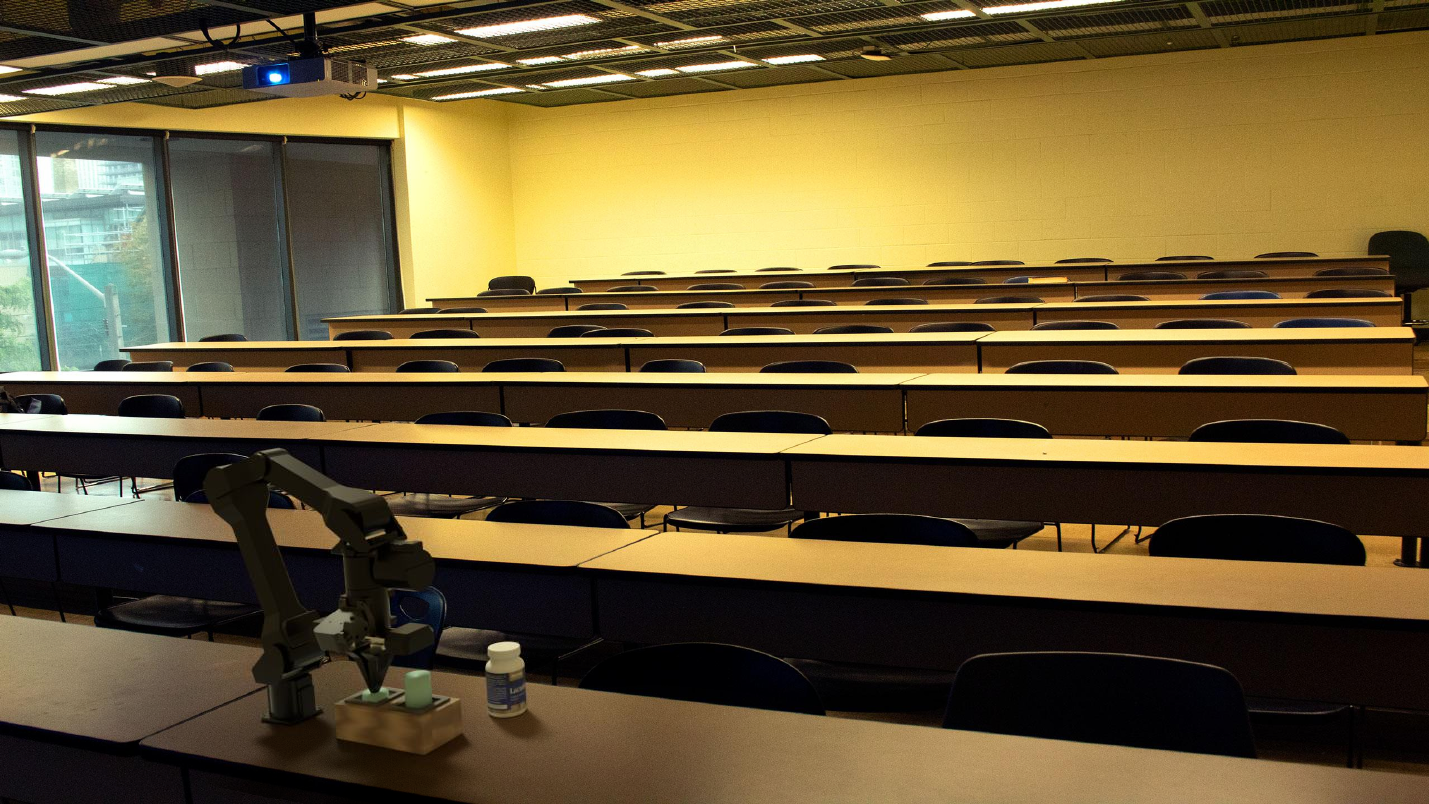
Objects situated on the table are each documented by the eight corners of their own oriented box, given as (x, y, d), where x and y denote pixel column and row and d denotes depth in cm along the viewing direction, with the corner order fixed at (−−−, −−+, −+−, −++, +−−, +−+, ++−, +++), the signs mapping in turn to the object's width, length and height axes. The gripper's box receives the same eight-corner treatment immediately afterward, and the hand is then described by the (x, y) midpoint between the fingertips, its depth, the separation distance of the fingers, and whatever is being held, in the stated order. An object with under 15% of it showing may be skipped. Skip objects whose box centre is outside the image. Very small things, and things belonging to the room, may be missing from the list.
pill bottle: (518, 719, 163) (514, 652, 162) (481, 718, 164) (477, 651, 163) (532, 704, 169) (528, 640, 168) (497, 703, 170) (492, 639, 169)
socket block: (336, 738, 159) (333, 701, 159) (377, 717, 166) (374, 682, 166) (424, 755, 152) (421, 716, 151) (462, 733, 159) (460, 696, 159)
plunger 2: (400, 713, 156) (397, 677, 156) (418, 704, 159) (415, 669, 159) (420, 717, 155) (418, 680, 154) (438, 708, 158) (435, 672, 157)
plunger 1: (359, 730, 160) (356, 694, 160) (377, 721, 163) (374, 686, 163) (378, 733, 158) (375, 698, 158) (396, 724, 162) (393, 689, 161)
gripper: (273, 594, 156) (283, 703, 157) (376, 606, 147) (384, 721, 149) (334, 574, 166) (342, 677, 167) (433, 584, 157) (440, 693, 159)
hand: (375, 692), depth 160 cm, fingers closed, pressing on plunger 1
